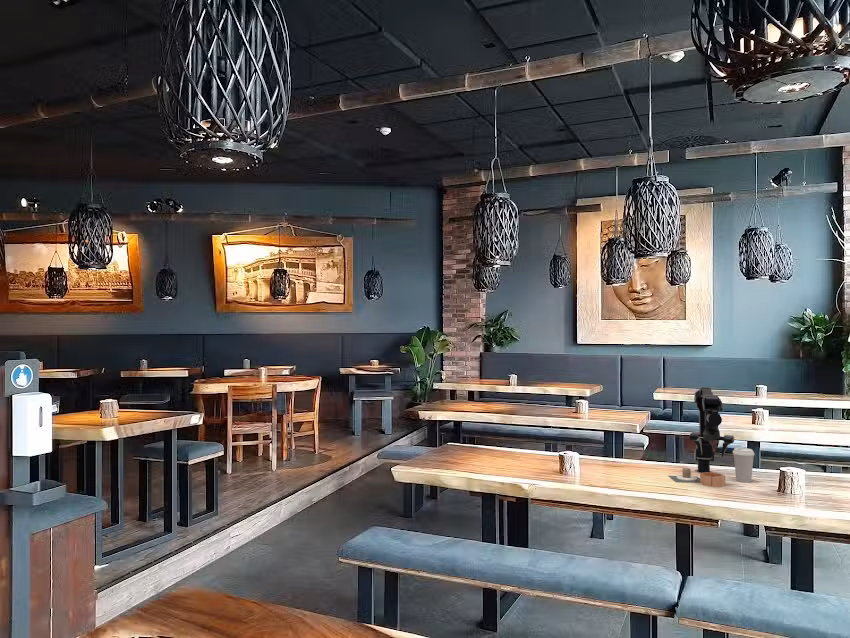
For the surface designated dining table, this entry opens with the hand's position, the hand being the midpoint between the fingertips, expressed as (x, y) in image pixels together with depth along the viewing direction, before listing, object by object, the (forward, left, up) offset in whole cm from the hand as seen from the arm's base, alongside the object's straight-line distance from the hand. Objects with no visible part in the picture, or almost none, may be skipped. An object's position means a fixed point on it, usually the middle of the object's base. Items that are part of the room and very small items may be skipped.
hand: (711, 456), depth 303 cm
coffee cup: (-8, +17, -13) cm, 23 cm away
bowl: (+3, -1, -13) cm, 13 cm away
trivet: (-6, -10, -13) cm, 17 cm away
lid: (-6, -10, -13) cm, 17 cm away
